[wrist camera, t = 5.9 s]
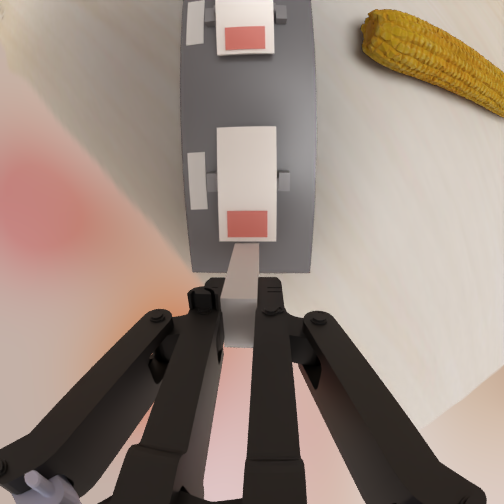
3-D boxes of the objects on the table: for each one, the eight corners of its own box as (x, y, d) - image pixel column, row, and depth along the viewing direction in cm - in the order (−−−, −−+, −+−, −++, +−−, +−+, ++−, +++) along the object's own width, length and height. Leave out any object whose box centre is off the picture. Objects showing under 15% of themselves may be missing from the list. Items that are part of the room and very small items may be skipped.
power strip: (201, -54, 12) (190, -80, 7) (294, -57, 11) (299, -85, 7) (202, 251, 24) (189, 278, 20) (303, 251, 24) (311, 279, 20)
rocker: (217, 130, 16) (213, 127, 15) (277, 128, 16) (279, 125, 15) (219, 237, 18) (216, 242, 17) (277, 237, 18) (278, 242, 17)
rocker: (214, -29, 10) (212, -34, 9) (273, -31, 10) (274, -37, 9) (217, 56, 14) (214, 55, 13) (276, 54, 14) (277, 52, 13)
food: (354, 69, 17) (382, 51, 12) (353, 17, 15) (376, -10, 10) (509, 129, 17) (543, 135, 12) (507, 86, 15) (541, 86, 9)
